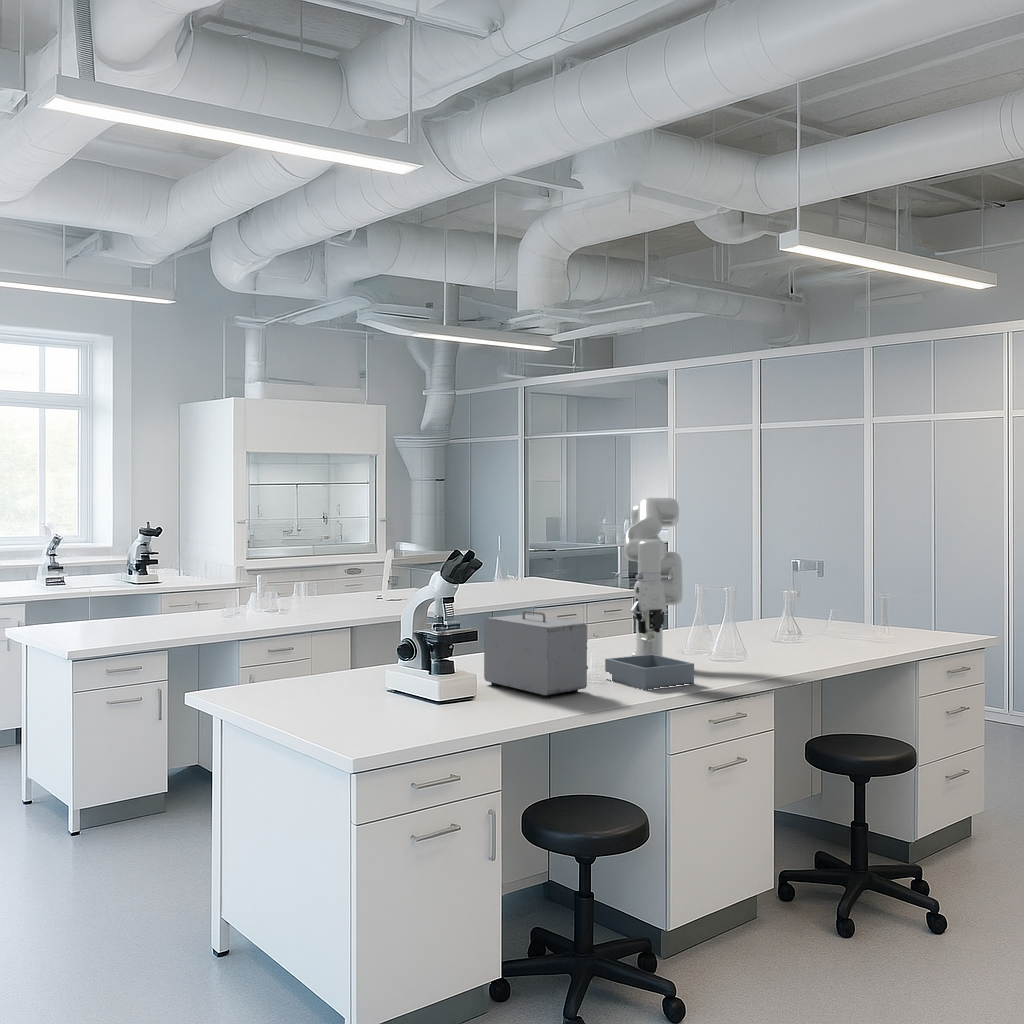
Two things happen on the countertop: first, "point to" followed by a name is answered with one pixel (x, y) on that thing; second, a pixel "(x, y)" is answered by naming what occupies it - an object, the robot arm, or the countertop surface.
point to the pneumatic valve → (651, 623)
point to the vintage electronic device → (535, 653)
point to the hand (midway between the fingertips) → (649, 632)
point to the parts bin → (649, 671)
